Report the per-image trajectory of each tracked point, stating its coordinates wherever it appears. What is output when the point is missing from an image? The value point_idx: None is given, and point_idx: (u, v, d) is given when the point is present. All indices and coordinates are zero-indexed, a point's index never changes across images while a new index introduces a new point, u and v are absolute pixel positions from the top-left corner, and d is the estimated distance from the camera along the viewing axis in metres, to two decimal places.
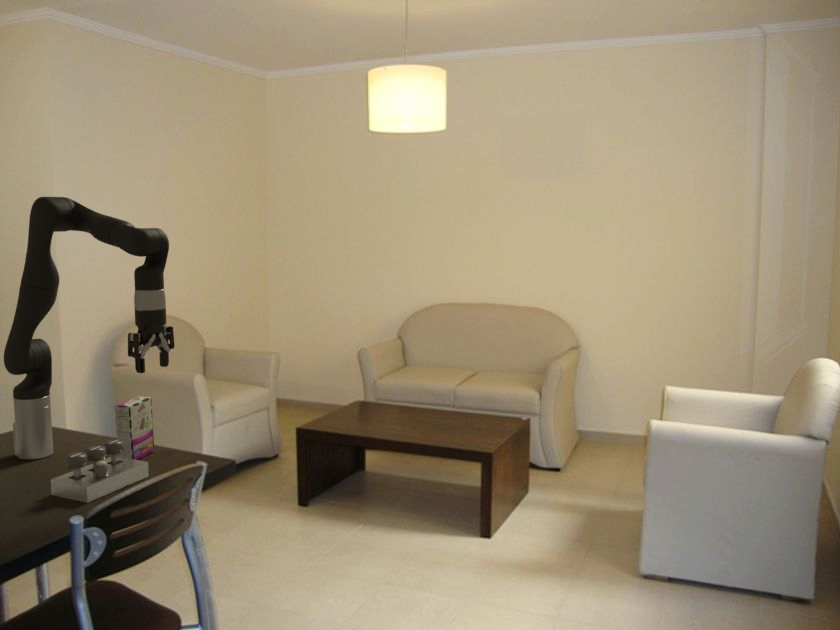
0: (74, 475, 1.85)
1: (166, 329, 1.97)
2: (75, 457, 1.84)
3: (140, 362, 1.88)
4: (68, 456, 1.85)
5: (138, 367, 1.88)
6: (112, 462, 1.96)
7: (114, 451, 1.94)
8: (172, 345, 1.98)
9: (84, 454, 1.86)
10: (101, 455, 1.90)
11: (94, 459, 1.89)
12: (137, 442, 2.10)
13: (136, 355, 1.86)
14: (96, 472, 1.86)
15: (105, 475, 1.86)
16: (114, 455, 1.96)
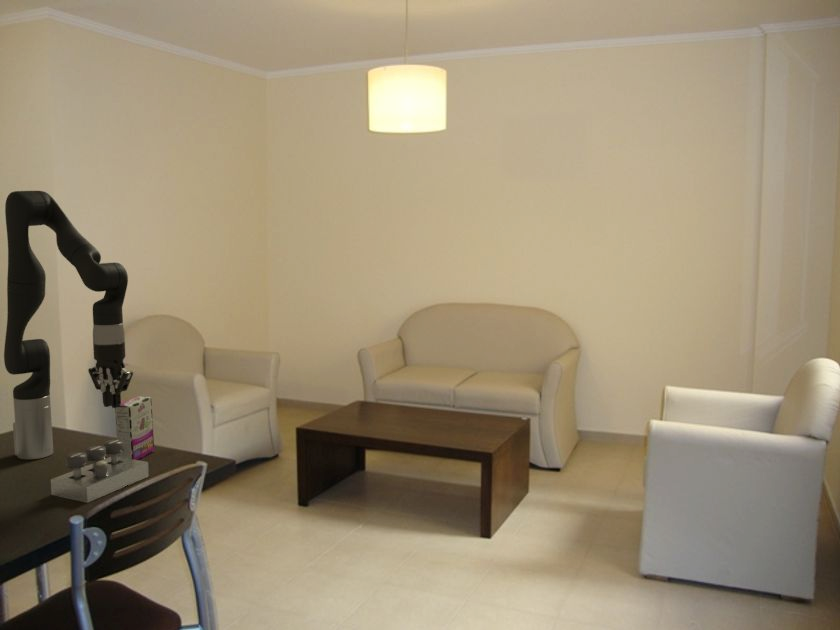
0: (74, 475, 1.85)
1: None
2: (75, 457, 1.84)
3: None
4: (68, 456, 1.85)
5: (119, 401, 1.94)
6: (112, 462, 1.96)
7: (114, 451, 1.94)
8: None
9: (84, 454, 1.86)
10: (101, 455, 1.90)
11: (94, 459, 1.89)
12: (137, 442, 2.10)
13: None
14: (96, 472, 1.86)
15: (105, 475, 1.86)
16: (114, 455, 1.96)
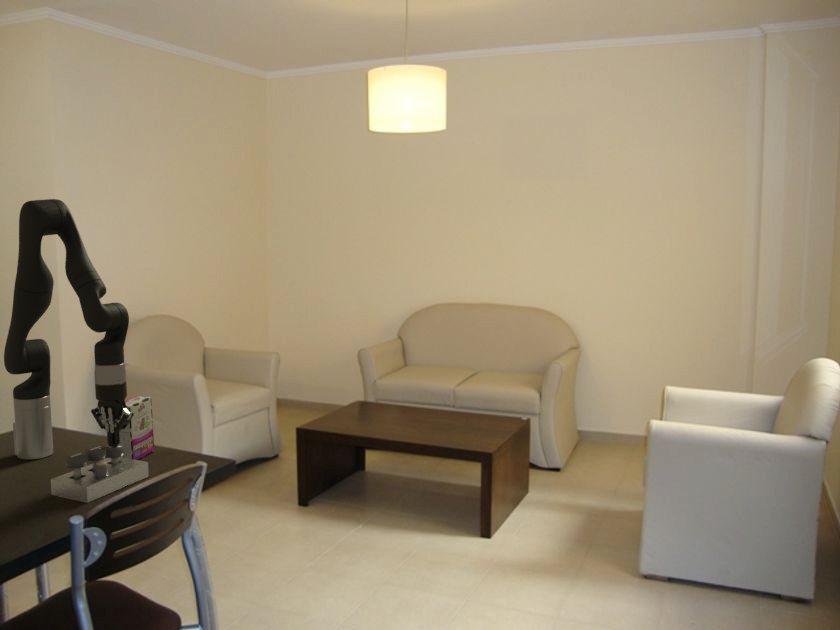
0: (74, 475, 1.85)
1: None
2: (75, 457, 1.84)
3: None
4: (68, 456, 1.85)
5: (118, 440, 1.96)
6: None
7: (114, 455, 1.95)
8: None
9: (84, 454, 1.86)
10: (101, 455, 1.90)
11: (94, 459, 1.89)
12: (137, 442, 2.10)
13: None
14: (96, 472, 1.86)
15: (105, 475, 1.86)
16: (114, 459, 1.96)
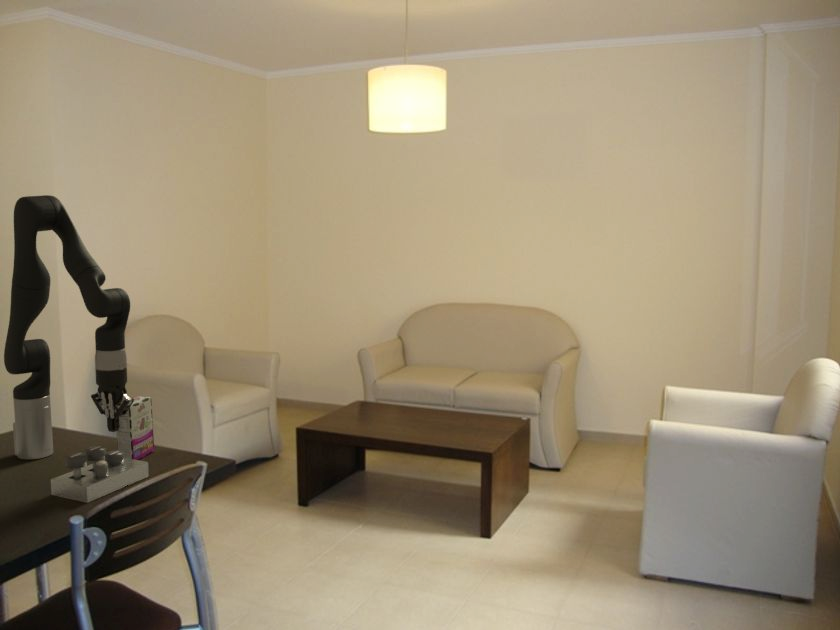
0: (74, 475, 1.85)
1: None
2: (75, 457, 1.84)
3: None
4: (68, 456, 1.85)
5: (117, 425, 1.96)
6: None
7: (115, 462, 1.95)
8: None
9: (84, 454, 1.86)
10: (101, 455, 1.90)
11: (94, 459, 1.89)
12: (137, 442, 2.10)
13: None
14: (96, 472, 1.86)
15: (105, 475, 1.86)
16: None
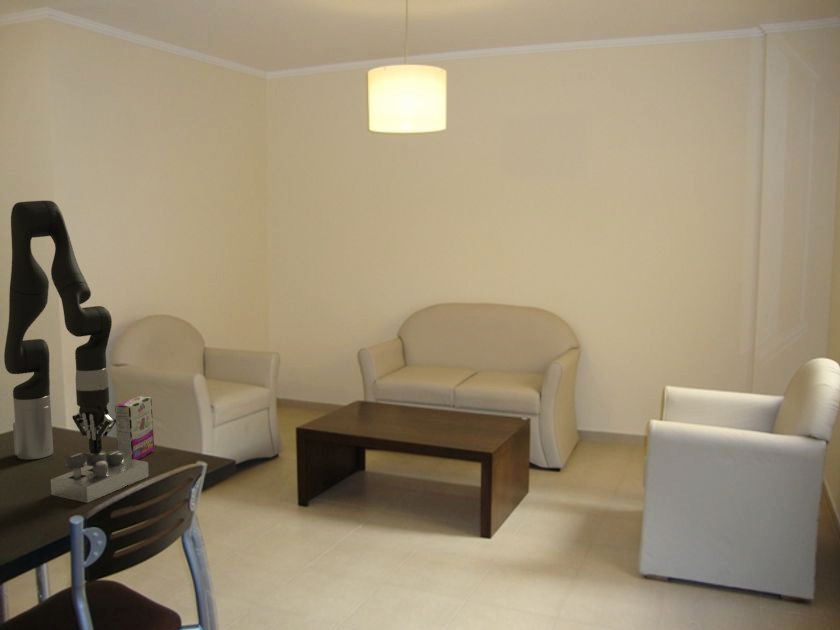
0: (74, 475, 1.85)
1: None
2: (75, 457, 1.84)
3: None
4: (68, 456, 1.85)
5: (100, 447, 1.91)
6: None
7: (115, 462, 1.95)
8: None
9: (84, 454, 1.86)
10: (101, 459, 1.90)
11: (94, 464, 1.89)
12: (137, 442, 2.10)
13: None
14: (96, 472, 1.86)
15: (105, 475, 1.86)
16: None
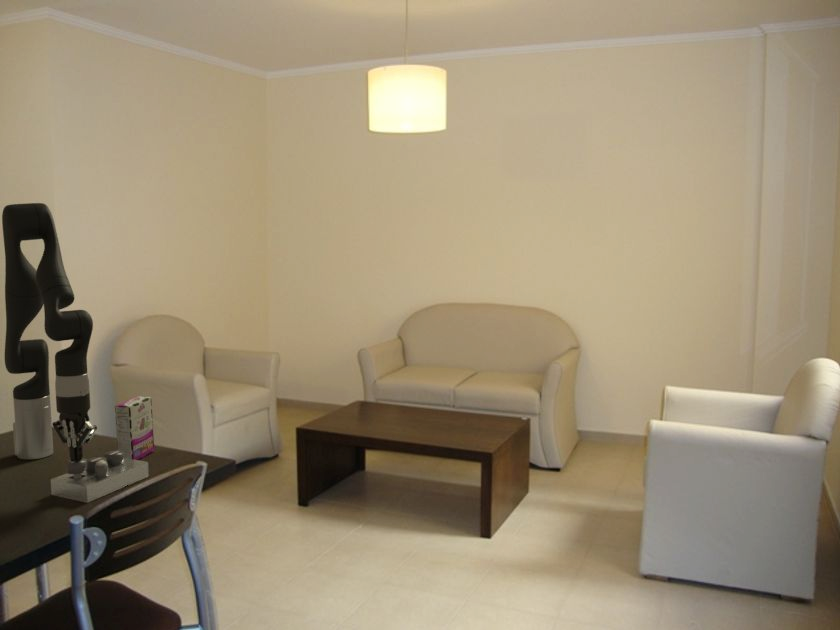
0: None
1: None
2: (75, 463, 1.84)
3: None
4: (68, 462, 1.85)
5: (80, 454, 1.85)
6: None
7: (115, 462, 1.95)
8: None
9: (84, 460, 1.86)
10: None
11: None
12: (137, 442, 2.10)
13: None
14: (96, 472, 1.86)
15: (105, 475, 1.86)
16: None
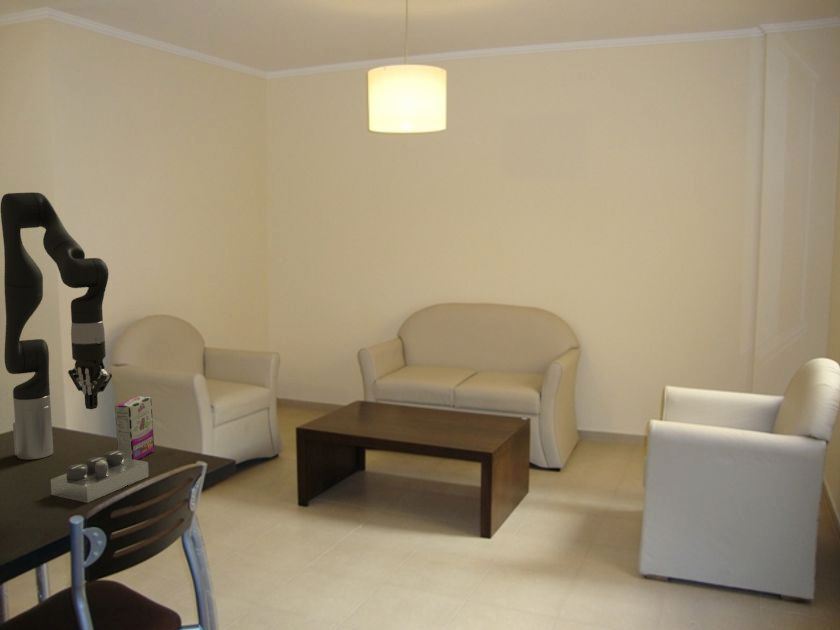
0: None
1: None
2: (76, 469, 1.84)
3: None
4: (69, 468, 1.85)
5: (96, 402, 1.86)
6: None
7: (115, 462, 1.95)
8: None
9: (85, 466, 1.87)
10: None
11: None
12: (137, 442, 2.10)
13: None
14: (96, 472, 1.86)
15: (105, 475, 1.86)
16: None
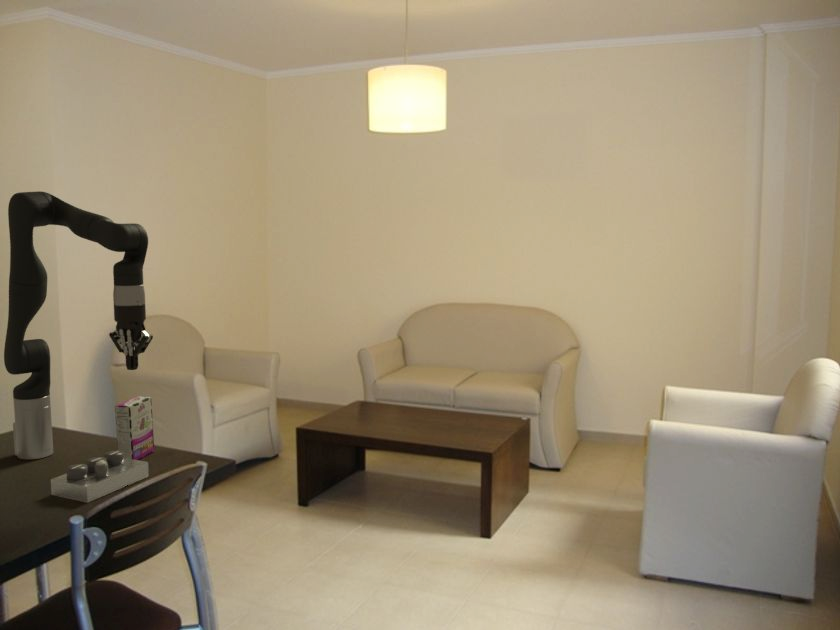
0: None
1: None
2: (76, 469, 1.84)
3: None
4: (69, 468, 1.85)
5: (136, 363, 1.93)
6: None
7: (115, 462, 1.95)
8: None
9: (85, 466, 1.87)
10: None
11: None
12: (137, 442, 2.10)
13: None
14: (96, 472, 1.86)
15: (105, 475, 1.86)
16: None
